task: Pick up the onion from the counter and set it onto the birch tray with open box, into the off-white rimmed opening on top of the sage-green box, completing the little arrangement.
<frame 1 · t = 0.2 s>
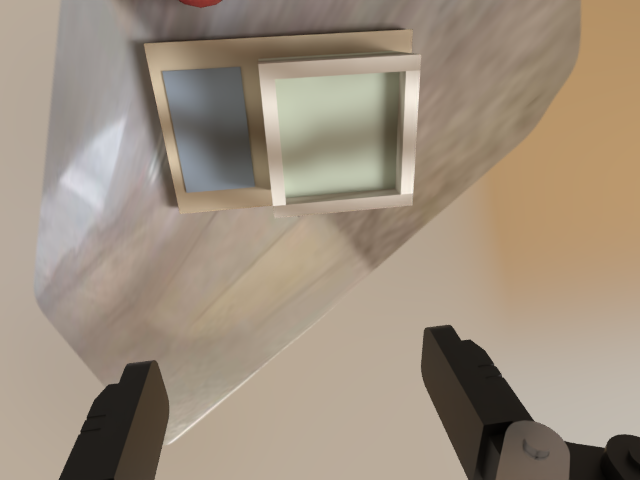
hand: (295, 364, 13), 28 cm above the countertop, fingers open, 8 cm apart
tray with open box: (288, 123, 37), on the countertop
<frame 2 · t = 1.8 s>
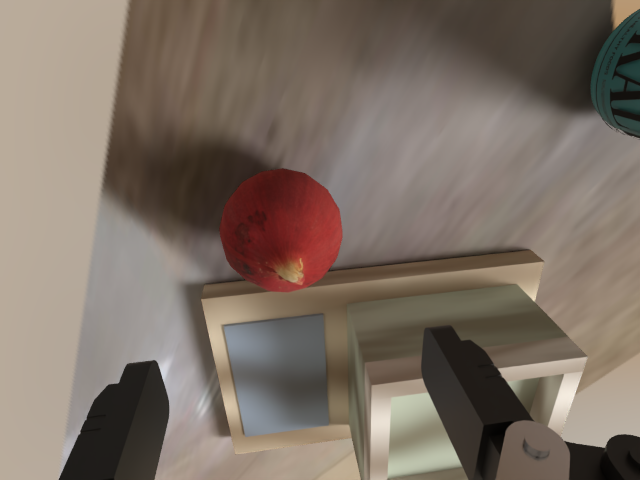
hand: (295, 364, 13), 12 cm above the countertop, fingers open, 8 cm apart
beverage bottle: (620, 65, 23), on the countertop
onion: (278, 199, 24), on the countertop
tray with open box: (371, 350, 30), on the countertop
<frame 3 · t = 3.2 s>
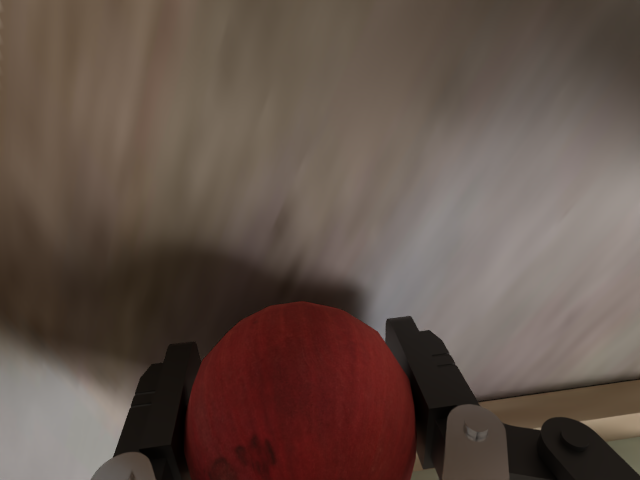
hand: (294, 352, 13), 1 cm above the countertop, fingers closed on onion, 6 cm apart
onion: (291, 323, 14), on the countertop, touching gripper
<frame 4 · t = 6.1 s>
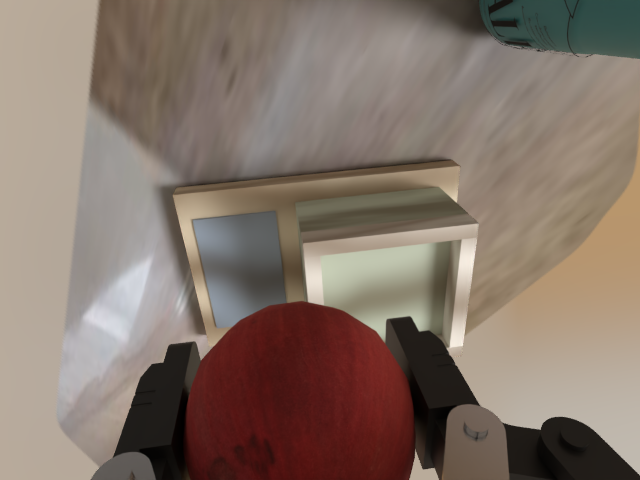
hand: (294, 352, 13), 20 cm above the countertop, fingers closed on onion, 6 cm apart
onion: (290, 322, 14), point 19 cm above the countertop, touching gripper
tray with open box: (323, 253, 35), on the countertop
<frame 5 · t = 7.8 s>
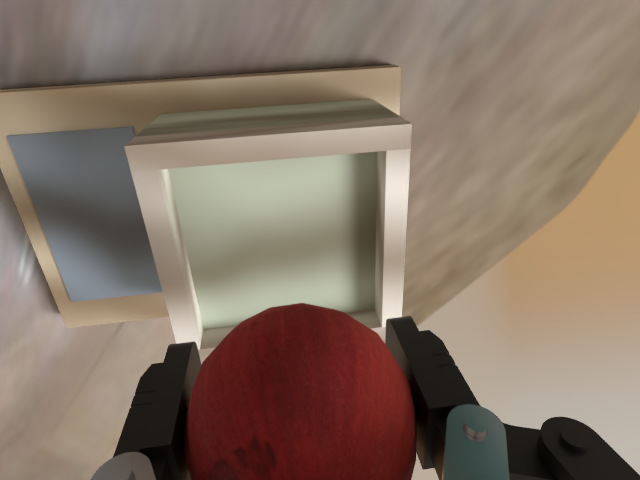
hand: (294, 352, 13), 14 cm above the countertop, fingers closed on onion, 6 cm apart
onion: (291, 324, 14), point 13 cm above the countertop, touching gripper
tray with open box: (220, 200, 25), on the countertop
when the fingers open (10 cm above the countertop, at t = 9.1 s): onion drops 2 cm, resting on tray with open box.
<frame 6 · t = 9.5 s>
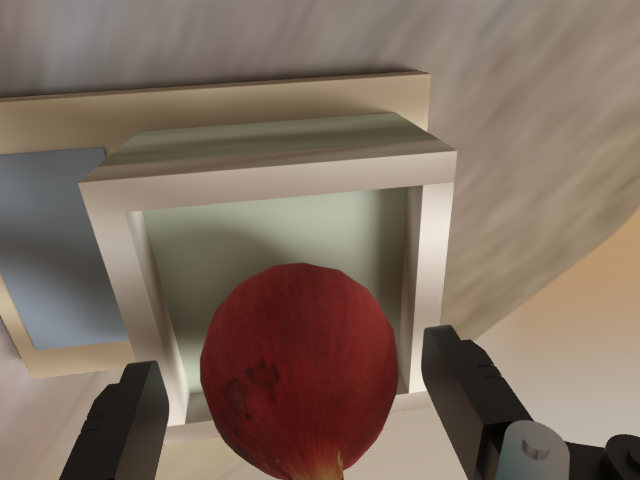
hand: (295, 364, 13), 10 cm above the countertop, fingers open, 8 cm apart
onion: (292, 287, 16), point 6 cm above the countertop, touching tray with open box
tray with open box: (212, 230, 21), on the countertop
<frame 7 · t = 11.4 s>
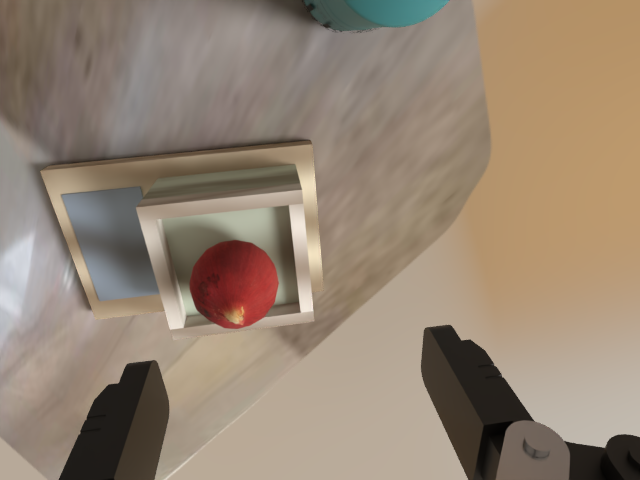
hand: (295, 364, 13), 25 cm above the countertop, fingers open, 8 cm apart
onion: (237, 257, 32), point 6 cm above the countertop, touching tray with open box
tray with open box: (199, 230, 37), on the countertop
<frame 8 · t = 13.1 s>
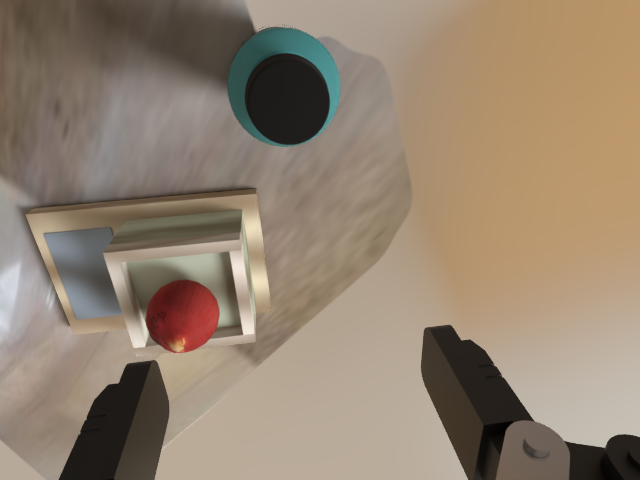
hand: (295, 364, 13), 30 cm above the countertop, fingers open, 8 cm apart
beverage bottle: (275, 66, 37), on the countertop
onion: (190, 289, 38), point 6 cm above the countertop, touching tray with open box
tray with open box: (163, 260, 44), on the countertop
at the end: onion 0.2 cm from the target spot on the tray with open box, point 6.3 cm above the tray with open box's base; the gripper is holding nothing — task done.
